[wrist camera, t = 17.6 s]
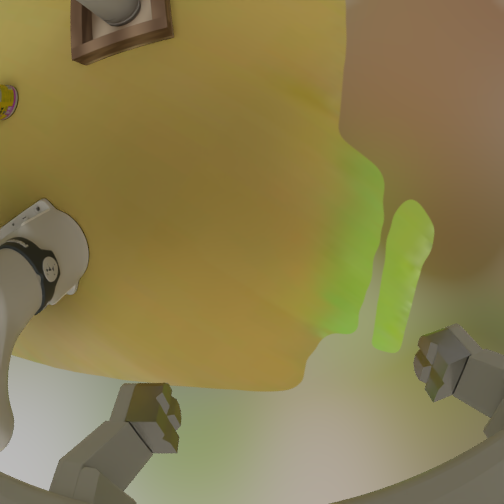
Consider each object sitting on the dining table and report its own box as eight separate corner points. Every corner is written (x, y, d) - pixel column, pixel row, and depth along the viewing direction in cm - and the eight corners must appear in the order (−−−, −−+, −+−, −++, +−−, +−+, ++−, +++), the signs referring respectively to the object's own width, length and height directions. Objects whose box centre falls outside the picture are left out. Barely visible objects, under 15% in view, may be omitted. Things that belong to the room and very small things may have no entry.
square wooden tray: (86, 65, 35) (71, 60, 31) (83, -4, 29) (71, -13, 25) (173, 37, 35) (167, 27, 31) (166, -32, 29) (160, -46, 25)
